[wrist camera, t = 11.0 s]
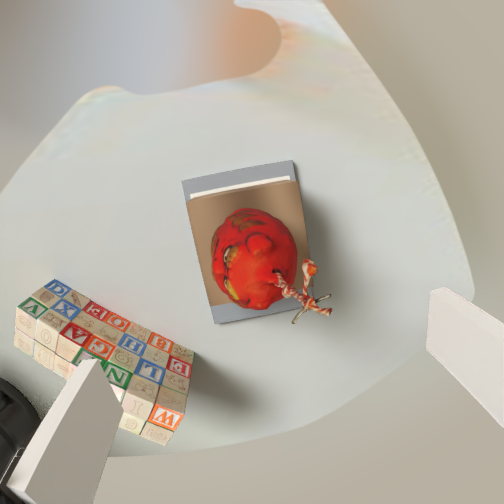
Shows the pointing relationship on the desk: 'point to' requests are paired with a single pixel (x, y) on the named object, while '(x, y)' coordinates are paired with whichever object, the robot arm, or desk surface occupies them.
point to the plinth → (256, 197)
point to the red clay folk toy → (259, 262)
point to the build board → (235, 181)
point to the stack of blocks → (108, 356)
